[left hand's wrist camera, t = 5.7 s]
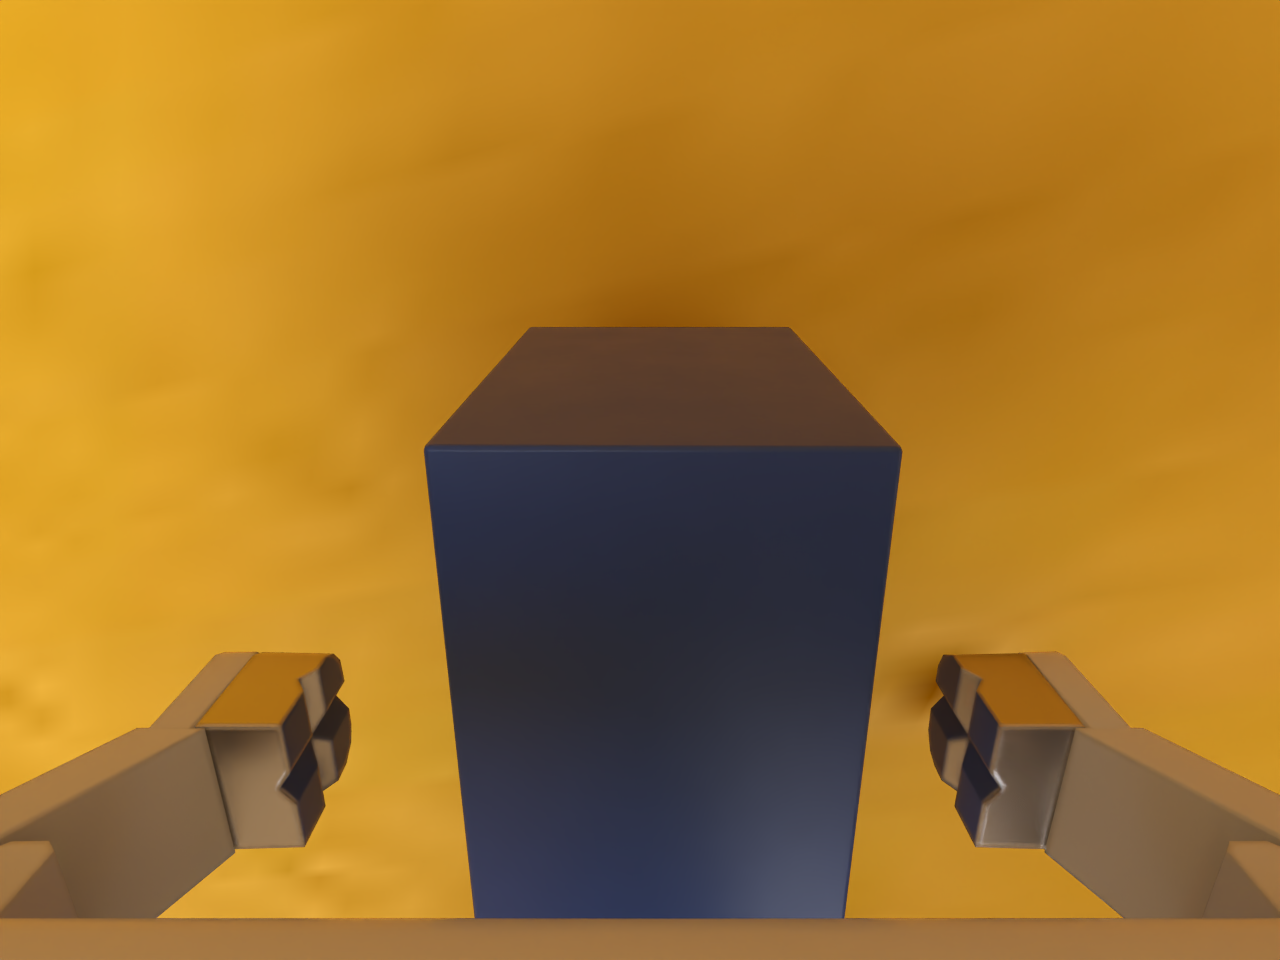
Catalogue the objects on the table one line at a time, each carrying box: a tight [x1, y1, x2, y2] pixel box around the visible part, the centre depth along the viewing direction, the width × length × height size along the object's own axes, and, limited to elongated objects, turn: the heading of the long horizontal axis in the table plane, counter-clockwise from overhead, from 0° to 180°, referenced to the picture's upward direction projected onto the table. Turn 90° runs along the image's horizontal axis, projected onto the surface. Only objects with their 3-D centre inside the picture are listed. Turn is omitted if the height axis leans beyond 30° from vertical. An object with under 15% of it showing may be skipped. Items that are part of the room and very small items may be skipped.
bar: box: [424, 327, 902, 919], centre depth 18 cm, size 27×6×9 cm, turn 0°
